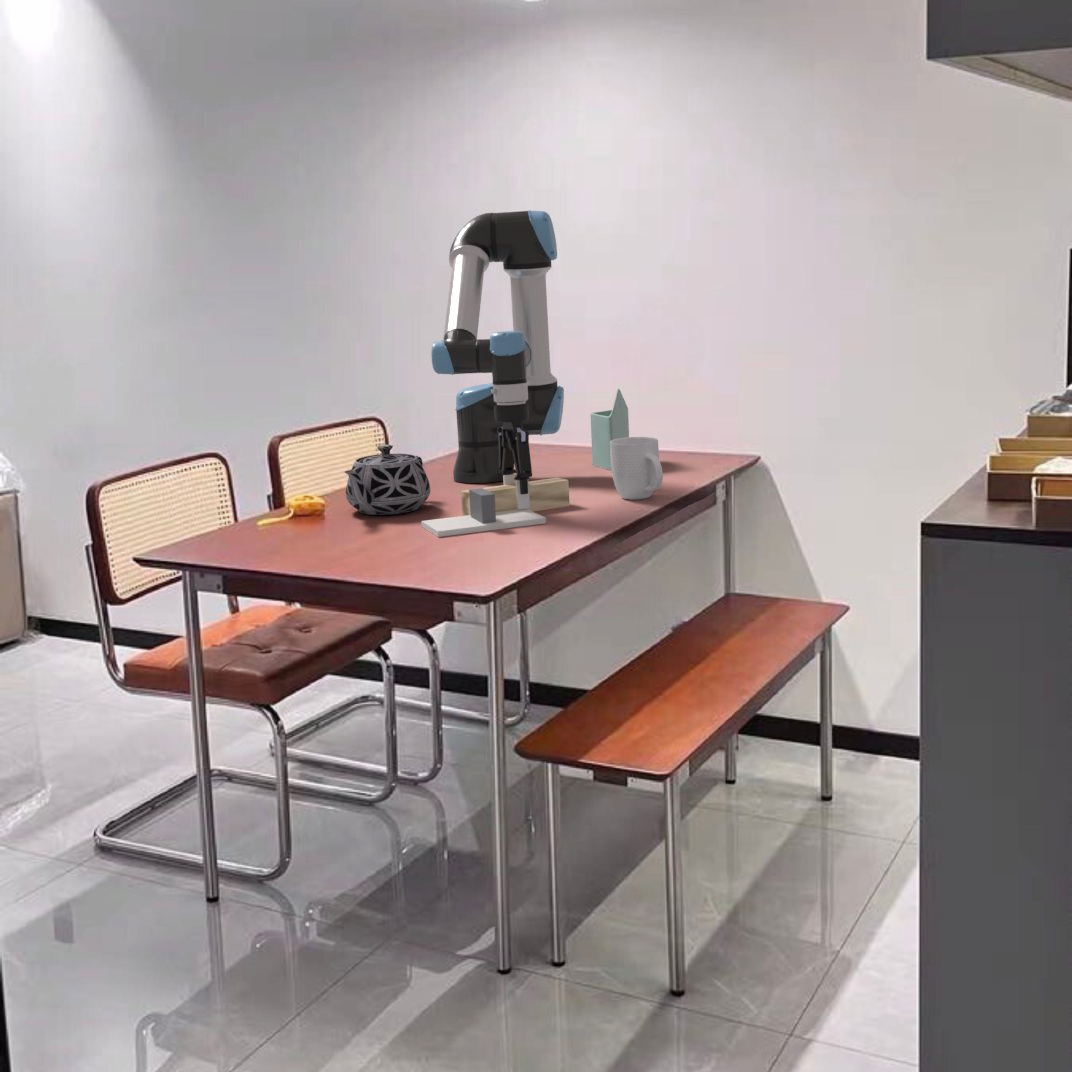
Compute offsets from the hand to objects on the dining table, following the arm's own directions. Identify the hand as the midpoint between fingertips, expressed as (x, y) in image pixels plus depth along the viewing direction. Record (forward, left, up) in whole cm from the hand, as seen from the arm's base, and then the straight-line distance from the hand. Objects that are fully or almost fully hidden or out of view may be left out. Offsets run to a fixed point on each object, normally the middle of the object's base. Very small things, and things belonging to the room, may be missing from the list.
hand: (517, 505), depth 326 cm
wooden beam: (-1, 0, -2) cm, 2 cm away
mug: (+1, +29, -2) cm, 29 cm away
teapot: (-18, -25, -2) cm, 31 cm away
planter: (-43, +40, -2) cm, 59 cm away
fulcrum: (+9, -11, -1) cm, 14 cm away
